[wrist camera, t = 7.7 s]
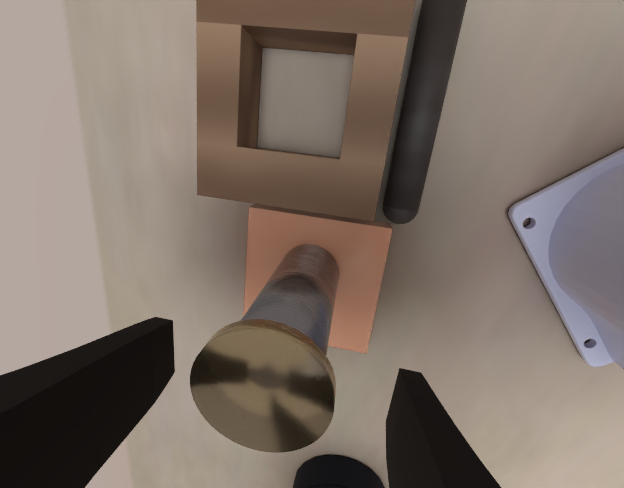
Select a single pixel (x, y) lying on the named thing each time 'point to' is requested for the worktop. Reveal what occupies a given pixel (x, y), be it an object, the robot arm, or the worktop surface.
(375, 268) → the tile pad
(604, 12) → the worktop surface
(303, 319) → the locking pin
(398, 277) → the worktop surface
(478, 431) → the worktop surface
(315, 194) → the clamp block
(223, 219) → the worktop surface
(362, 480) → the black water bottle
